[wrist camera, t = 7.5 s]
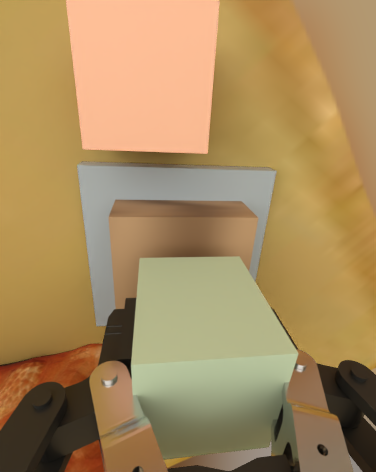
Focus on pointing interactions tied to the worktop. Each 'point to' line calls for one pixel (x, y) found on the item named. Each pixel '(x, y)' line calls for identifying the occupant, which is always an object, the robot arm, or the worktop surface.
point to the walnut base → (175, 235)
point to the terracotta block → (144, 73)
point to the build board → (160, 188)
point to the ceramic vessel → (52, 370)
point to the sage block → (207, 356)
